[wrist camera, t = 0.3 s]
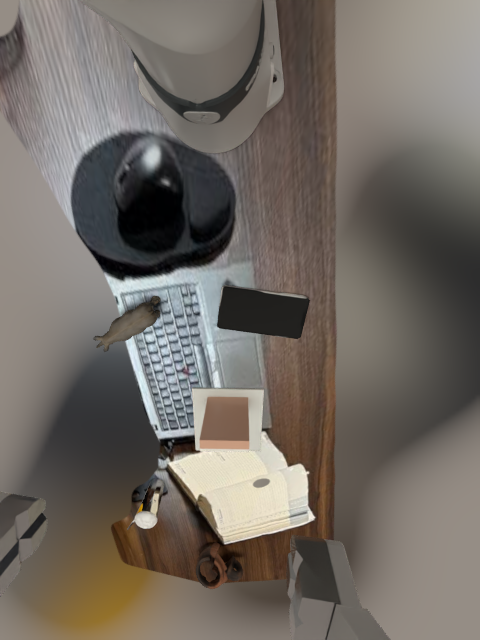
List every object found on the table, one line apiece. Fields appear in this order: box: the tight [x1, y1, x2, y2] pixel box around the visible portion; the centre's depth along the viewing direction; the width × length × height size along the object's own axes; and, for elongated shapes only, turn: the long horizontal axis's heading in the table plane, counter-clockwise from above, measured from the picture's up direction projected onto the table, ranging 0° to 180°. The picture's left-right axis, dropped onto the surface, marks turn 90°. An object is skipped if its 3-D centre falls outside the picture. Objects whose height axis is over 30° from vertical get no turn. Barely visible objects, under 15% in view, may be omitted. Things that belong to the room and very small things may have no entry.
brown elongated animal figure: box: [93, 296, 160, 352], centre depth 45 cm, size 4×14×6 cm, turn 122°
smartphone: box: [217, 285, 310, 339], centre depth 47 cm, size 8×1×15 cm
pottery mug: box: [196, 542, 243, 589], centre depth 70 cm, size 12×10×8 cm
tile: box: [200, 397, 249, 452], centre depth 49 cm, size 2×8×11 cm, turn 89°
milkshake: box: [127, 479, 164, 530], centre depth 59 cm, size 5×5×10 cm
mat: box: [192, 388, 264, 451], centre depth 56 cm, size 16×14×1 cm
